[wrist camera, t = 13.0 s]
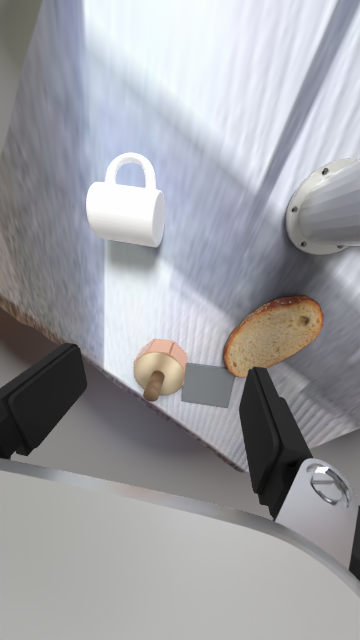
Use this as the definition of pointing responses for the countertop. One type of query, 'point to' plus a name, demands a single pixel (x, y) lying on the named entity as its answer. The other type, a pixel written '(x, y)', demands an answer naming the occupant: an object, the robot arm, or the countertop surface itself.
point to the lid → (158, 375)
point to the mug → (127, 206)
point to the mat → (207, 385)
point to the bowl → (166, 351)
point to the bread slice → (273, 334)
